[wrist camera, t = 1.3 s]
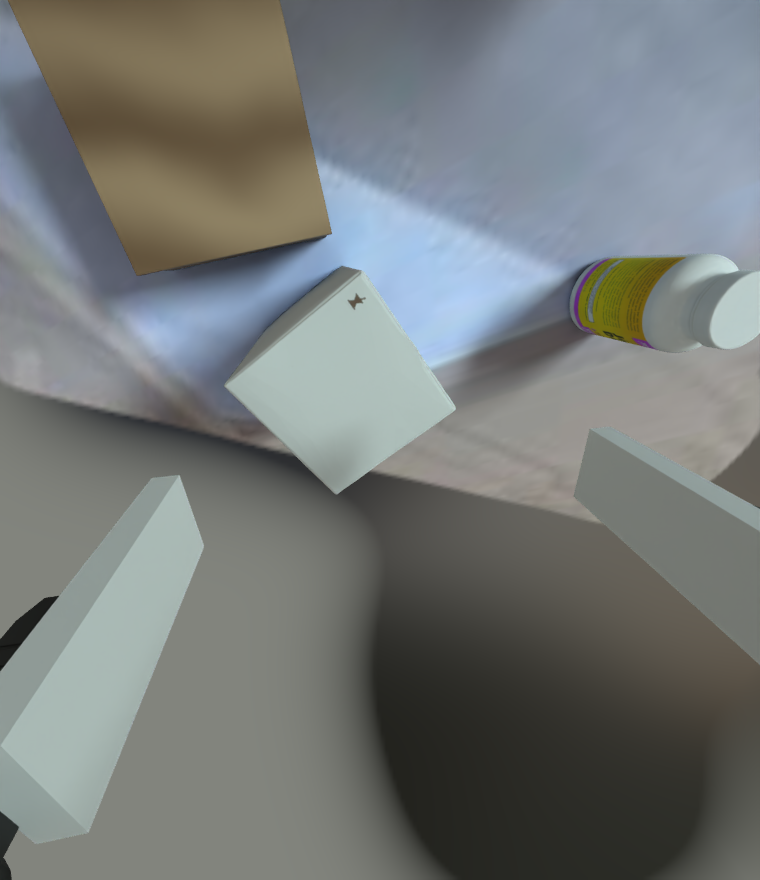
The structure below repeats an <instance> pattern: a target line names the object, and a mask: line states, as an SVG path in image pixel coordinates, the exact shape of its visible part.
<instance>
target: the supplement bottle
mask: <svg viewBox="0 0 760 880" xmlns="http://www.w3.org/2000/svg"><path fill="white" fill-rule="evenodd" d="M570 314H571V318H572V320H573V322H574V323H575V325H576V326H577V327H578V328H579V329H581V330H583V331H585V332H587V333H591V334H595V335H599V336H603V337H607V338H611V339H615V340H619V341H623V342H627V343H632V344H636V345H640V346H644V347H648V348H652V349H656V350H660V351H664V352H670V353H680V352H686V351H690V350H693V349H696V348H698V347H700V346H702V345H704V346H707V347H712V348H718V349H724V350H729V349H734V348H738V347H740V346H742V345H744V344H746V343H748V342H749V341H751V340H752V339H754V338H755V337H756V336H757V335H758V334H759V333H760V271H753V270H738V268H737V266H736V265H735V264H734V263H733V262H732V261H731V260H729V259H728V258H726V257H724V256H721V255H717V254H687V255H646V256H613V257H607V258H604V259H601V260H599V261H597V262H595V263H593V264H592V265H591V266H589V267H588V268H587V269H586V270H585V271H584V272H583V273H582V274H581V276H580V277H579V278H578V280H577V282H576V283H575V285H574V288H573V290H572V293H571V297H570Z"/></svg>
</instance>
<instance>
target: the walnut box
mask: <svg viewBox="0 0 760 880" xmlns="http://www.w3.org/2000/svg"><path fill="white" fill-rule="evenodd" d="M8 2H9V4H10V6H11V8H12V10H13V13H14V15H15V17H16V19H17V21H18V23H19V25H20V27H21V30H22V32H23V34H24V36H25V38H26V40H27V42H28V45H29V47H30V49H31V51H32V53H33V55H34V57H35V59H36V62H37V64H38V66H39V68H40V70H41V72H42V74H43V77H44V79H45V81H46V83H47V85H48V87H49V89H50V92H51V94H52V96H53V98H54V100H55V102H56V104H57V106H58V109H59V111H60V113H61V115H62V117H63V119H64V121H65V124H66V126H67V128H68V130H69V132H70V134H71V136H72V138H73V141H74V143H75V145H76V147H77V149H78V151H79V153H80V156H81V158H82V160H83V162H84V164H85V166H86V168H87V170H88V173H89V175H90V177H91V179H92V181H93V183H94V185H95V188H96V190H97V192H98V194H99V196H100V198H101V200H102V203H103V205H104V207H105V209H106V211H107V213H108V215H109V217H110V220H111V222H112V224H113V226H114V228H115V230H116V232H117V235H118V237H119V239H120V241H121V243H122V245H123V247H124V249H125V252H126V254H127V256H128V258H129V260H130V262H131V264H132V267H133V269H134V271H135V273H136V275H137V276H140V275H145V274H150V273H155V272H159V271H167V270H177V269H181V268H186V267H191V266H195V265H200V264H204V263H209V262H214V261H218V260H223V259H227V258H232V257H237V256H241V255H246V254H250V253H255V252H259V251H264V250H269V249H273V248H278V247H282V246H287V245H292V244H296V243H301V242H305V241H310V240H315V239H319V238H324V237H326V236H327V235H329V234H332V232H331V227H330V223H329V218H328V214H327V209H326V205H325V200H324V196H323V192H322V187H321V183H320V178H319V174H318V169H317V165H316V160H315V156H314V151H313V147H312V142H311V138H310V134H309V129H308V125H307V120H306V116H305V111H304V107H303V102H302V98H301V93H300V89H299V85H298V80H297V76H296V71H295V67H294V62H293V58H292V53H291V49H290V44H289V40H288V36H287V31H286V27H285V22H284V18H283V13H282V9H281V4H280V0H8Z"/></svg>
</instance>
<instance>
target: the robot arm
mask: <svg viewBox="0 0 760 880" xmlns="http://www.w3.org/2000/svg"><path fill="white" fill-rule="evenodd" d="M574 497H575V498H576V499H577V500H578V501H579V502H580V503H581V504H583V505H584V506H585V507H586V508H587V509H588V510H589V511H590V512H591V513H592V514H594V515H595V516H596V517H597V518H598V519H599V520H600V521H601V522H602V523H604V524H605V525H606V526H607V527H608V528H609V529H610V530H611V531H612V532H613V533H615V534H616V535H617V536H618V537H619V538H620V539H621V540H622V541H623V542H625V543H626V544H627V545H628V546H629V547H630V548H631V549H632V550H633V551H635V552H636V553H637V554H638V555H639V556H640V557H641V558H642V559H643V560H645V561H646V562H647V563H648V564H649V565H650V566H651V567H652V568H653V569H654V570H656V571H657V572H658V573H659V574H660V575H661V576H662V577H663V578H664V579H666V580H667V581H668V582H669V583H670V584H671V585H672V586H673V587H674V588H675V589H677V590H678V591H679V592H680V593H681V594H682V595H683V596H684V597H685V598H687V599H688V600H689V601H690V602H691V603H692V604H693V605H694V606H695V607H697V608H698V609H699V610H700V611H701V612H702V613H703V614H704V615H705V616H706V617H708V618H709V619H710V620H711V621H712V622H713V623H714V624H715V625H716V626H718V627H719V628H720V629H721V630H722V631H723V632H724V633H725V634H726V635H727V636H729V637H730V638H731V639H732V640H733V641H734V642H735V643H736V644H738V645H739V646H740V647H741V648H742V649H743V650H744V651H745V652H746V653H748V654H749V655H750V656H751V657H752V658H753V659H754V660H755V661H756V662H757V663H758V664H760V508H759V507H757V506H754V505H752V504H750V503H748V502H746V501H744V500H742V499H741V498H739V497H737V496H735V495H733V494H732V493H730V492H728V491H726V490H724V489H723V488H721V487H719V486H717V485H715V484H713V483H712V482H710V481H708V480H706V479H704V478H703V477H701V476H699V475H697V474H695V473H694V472H692V471H690V470H688V469H686V468H684V467H683V466H681V465H679V464H677V463H675V462H674V461H672V460H670V459H668V458H666V457H665V456H663V455H661V454H659V453H657V452H655V451H654V450H652V449H650V448H648V447H646V446H645V445H643V444H641V443H639V442H637V441H636V440H634V439H632V438H630V437H628V436H626V435H625V434H623V433H621V432H619V431H617V430H616V429H614V428H612V427H604V428H595V429H590V431H589V435H588V439H587V443H586V447H585V451H584V455H583V459H582V464H581V468H580V472H579V476H578V480H577V484H576V488H575V492H574ZM203 548H204V545H203V542H202V539H201V536H200V533H199V531H198V527H197V524H196V522H195V519H194V516H193V513H192V510H191V507H190V504H189V502H188V498H187V495H186V492H185V490H184V487H183V484H182V481H181V478H180V475H173V476H165V477H156V478H151V479H150V481H149V482H148V483H147V485H146V486H145V487H144V488H143V490H142V491H141V492H140V493H139V495H138V496H137V497H136V499H135V500H134V501H133V503H132V504H131V505H130V506H129V508H128V509H127V510H126V511H125V513H124V514H123V515H122V516H121V518H120V519H119V520H118V522H117V523H116V524H115V525H114V527H113V528H112V529H111V531H110V532H109V533H108V535H107V536H106V537H105V538H104V540H103V541H102V542H101V544H100V545H99V546H98V547H97V548H96V550H95V551H94V552H93V554H92V555H91V556H90V557H89V559H88V560H87V561H86V563H85V564H84V565H83V566H82V568H81V569H80V570H79V572H78V573H77V574H76V576H75V577H74V578H73V579H72V580H71V582H70V583H69V584H68V586H67V587H66V588H65V590H64V591H63V592H62V593H61V595H60V596H55V597H48V598H44V599H43V600H42V601H40V602H39V603H38V604H37V605H35V606H34V607H33V608H32V609H30V610H29V611H28V612H27V613H25V614H24V615H23V616H22V617H20V618H19V619H18V620H17V621H15V623H14V624H13V625H12V626H11V627H10V628H9V630H8V631H7V632H6V633H5V634H4V636H3V637H2V638H1V639H0V880H12V879H11V871H10V868H9V867H8V865H7V863H6V861H5V859H4V858H3V857H4V855H5V853H6V851H7V849H8V847H9V846H10V843H11V842H12V840H13V838H14V836H15V834H16V832H17V830H20V831H21V832H22V833H23V834H24V835H26V836H27V837H28V838H29V839H30V840H32V841H33V842H34V843H35V844H39V843H44V842H48V841H53V840H58V839H62V838H67V837H71V836H75V835H80V834H85V833H88V832H89V830H90V827H91V825H92V822H93V820H94V817H95V814H96V812H97V810H98V807H99V805H100V802H101V800H102V797H103V795H104V793H105V790H106V787H107V785H108V782H109V780H110V777H111V775H112V773H113V770H114V768H115V765H116V763H117V760H118V758H119V755H120V753H121V750H122V748H123V745H124V743H125V741H126V738H127V735H128V733H129V731H130V728H131V726H132V723H133V721H134V718H135V716H136V713H137V711H138V708H139V706H140V704H141V701H142V698H143V696H144V694H145V691H146V688H147V686H148V684H149V681H150V679H151V676H152V674H153V671H154V669H155V666H156V664H157V662H158V659H159V656H160V654H161V652H162V649H163V647H164V644H165V641H166V639H167V637H168V634H169V632H170V629H171V627H172V624H173V622H174V619H175V617H176V615H177V612H178V609H179V607H180V605H181V602H182V600H183V597H184V595H185V592H186V590H187V587H188V585H189V582H190V580H191V577H192V575H193V573H194V570H195V568H196V565H197V563H198V560H199V558H200V555H201V553H202V550H203Z"/></svg>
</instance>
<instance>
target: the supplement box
mask: <svg viewBox="0 0 760 880" xmlns="http://www.w3.org/2000/svg"><path fill="white" fill-rule="evenodd" d="M224 387H225V388H226V389H227V390H228V391H229V392H230V393H231V394H232V395H233V396H234V397H235V398H236V399H237V400H238V401H239V402H241V403H242V404H243V405H244V406H245V407H246V408H247V409H248V410H249V411H250V412H251V413H252V414H253V415H254V416H255V417H256V418H257V419H258V420H259V421H260V422H261V423H262V424H263V425H264V426H265V427H266V428H267V429H268V430H269V431H270V432H272V433H273V434H274V435H275V436H276V437H277V438H278V439H279V440H280V441H281V442H282V443H283V444H284V445H285V446H286V447H287V448H288V449H289V450H290V451H291V452H292V453H293V454H294V455H295V456H296V457H297V458H298V459H299V460H300V461H301V462H302V463H304V465H305V466H306V467H308V468H309V469H310V470H311V471H312V472H313V473H314V474H315V475H316V476H317V477H318V478H319V479H320V480H321V481H322V482H323V483H324V484H325V485H326V486H327V487H329V489H330V490H332V492H334V493H335V494H338V493H339V492H340V491H342V490H343V489H344V488H346V487H347V486H349V485H350V484H352V483H353V482H355V481H356V480H357V479H359V478H360V477H362V476H363V475H364V474H365V473H367V472H369V471H370V470H371V469H372V468H374V467H375V466H377V465H378V464H379V463H381V462H382V461H384V460H385V459H386V458H388V457H389V456H391V455H392V454H393V453H395V452H396V451H398V450H399V449H401V448H402V447H403V446H405V445H406V444H408V443H409V442H411V441H412V440H413V439H415V438H416V437H418V436H419V435H421V434H422V433H424V432H425V431H427V430H428V429H429V428H431V427H432V426H434V425H435V424H436V423H438V422H439V421H441V420H442V419H443V418H445V417H446V416H448V415H449V414H451V413H452V412H454V411H455V410H456V408H455V406H454V404H453V402H452V401H451V399H450V398H449V396H448V395H447V393H446V392H445V390H444V389H443V387H442V386H441V385H440V383H439V382H438V380H437V379H436V377H435V376H434V374H433V373H432V371H431V370H430V368H429V367H428V365H427V364H426V362H425V361H424V359H423V358H422V356H421V355H420V353H419V351H418V350H417V348H416V347H415V345H414V344H413V342H412V341H411V340H410V339H409V337H408V336H407V334H406V333H405V331H404V330H403V328H402V327H401V325H400V324H399V322H398V321H397V319H396V318H395V316H394V315H393V314H392V312H391V311H390V309H389V308H388V306H387V305H386V303H385V302H384V300H383V299H382V297H381V296H380V294H379V293H378V291H377V290H376V288H375V287H374V285H373V284H372V282H371V281H370V279H369V278H368V277H367V275H366V274H365V272H363V271H361V270H357V269H352V268H349V267H344V266H341V267H339V268H338V269H337V270H335V271H334V272H333V273H332V274H330V275H329V276H328V277H327V278H326V279H324V280H323V281H322V282H321V283H319V284H318V285H317V286H316V287H314V288H313V289H312V290H311V291H310V292H308V293H307V294H306V295H305V296H303V297H302V298H301V299H300V300H299V301H297V302H296V303H295V304H294V305H293V306H292V307H290V308H289V309H288V310H287V311H286V312H284V313H283V314H282V315H281V316H280V317H279V318H278V319H276V320H275V321H274V322H273V323H272V324H271V325H270V326H269V327H268V328H267V329H266V330H265V331H264V332H263V334H262V335H261V336H260V338H259V339H258V340H257V342H256V343H255V344H254V346H253V347H252V348H251V350H250V351H249V353H248V354H247V355H246V357H245V358H244V359H243V361H242V362H241V363H240V364H239V366H238V367H237V368H236V370H235V371H234V372H233V374H232V375H231V376H230V377H229V379H228V380H227V381H226V383H225V384H224Z"/></svg>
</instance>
